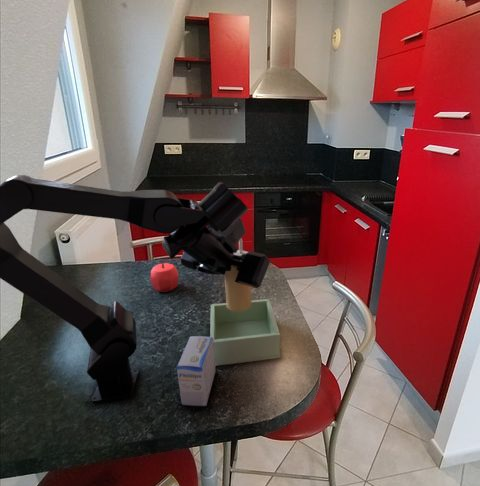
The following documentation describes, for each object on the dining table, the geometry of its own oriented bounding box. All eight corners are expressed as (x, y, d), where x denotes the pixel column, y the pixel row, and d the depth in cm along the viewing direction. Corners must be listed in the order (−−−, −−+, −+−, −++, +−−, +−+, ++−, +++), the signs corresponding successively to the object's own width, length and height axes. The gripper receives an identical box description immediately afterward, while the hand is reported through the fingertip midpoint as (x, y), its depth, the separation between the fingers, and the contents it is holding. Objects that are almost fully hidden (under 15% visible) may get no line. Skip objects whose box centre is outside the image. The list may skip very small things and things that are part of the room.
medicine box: (193, 371, 62) (189, 335, 59) (216, 372, 62) (213, 335, 59) (181, 406, 55) (175, 366, 52) (207, 407, 55) (203, 366, 51)
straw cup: (253, 310, 69) (251, 244, 64) (226, 313, 68) (222, 246, 63) (250, 296, 75) (248, 234, 69) (225, 299, 74) (221, 236, 68)
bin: (279, 358, 66) (279, 334, 64) (212, 366, 63) (210, 342, 61) (269, 319, 78) (269, 298, 76) (212, 325, 76) (210, 304, 74)
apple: (158, 298, 87) (154, 272, 84) (147, 287, 93) (143, 262, 90) (185, 288, 92) (182, 263, 89) (173, 279, 97) (170, 254, 95)
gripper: (264, 214, 55) (292, 251, 68) (184, 201, 64) (222, 236, 77) (239, 273, 52) (273, 300, 65) (158, 250, 61) (203, 278, 74)
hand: (241, 275), depth 70 cm, fingers closed on straw cup, 5 cm apart
